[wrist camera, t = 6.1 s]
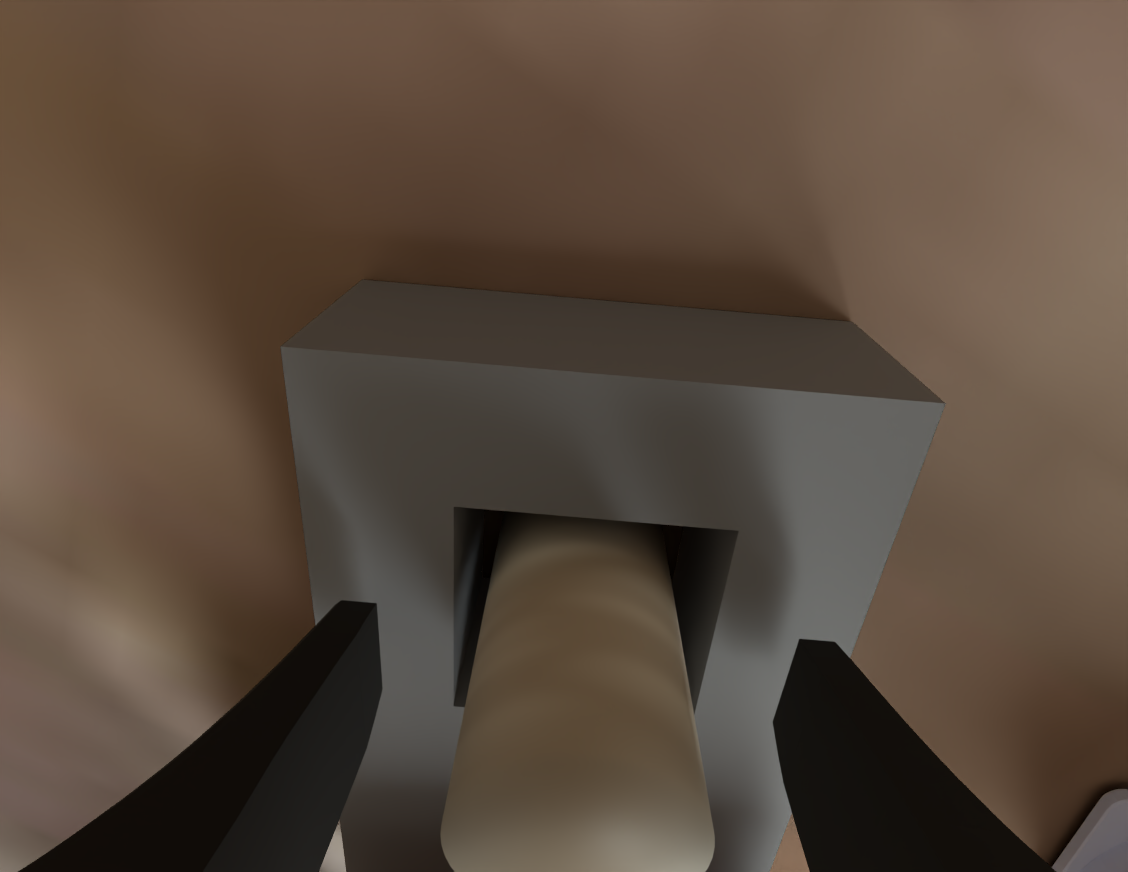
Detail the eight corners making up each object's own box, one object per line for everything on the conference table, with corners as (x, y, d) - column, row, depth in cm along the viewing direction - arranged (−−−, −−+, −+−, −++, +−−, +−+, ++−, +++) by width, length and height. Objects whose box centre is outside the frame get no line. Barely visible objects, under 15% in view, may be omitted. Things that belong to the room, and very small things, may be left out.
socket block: (852, 321, 14) (945, 404, 10) (723, 771, 20) (751, 918, 16) (362, 279, 13) (280, 346, 10) (391, 743, 20) (348, 884, 16)
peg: (668, 449, 15) (741, 768, 8) (645, 575, 17) (688, 931, 10) (510, 434, 15) (441, 741, 8) (502, 561, 17) (439, 910, 10)
